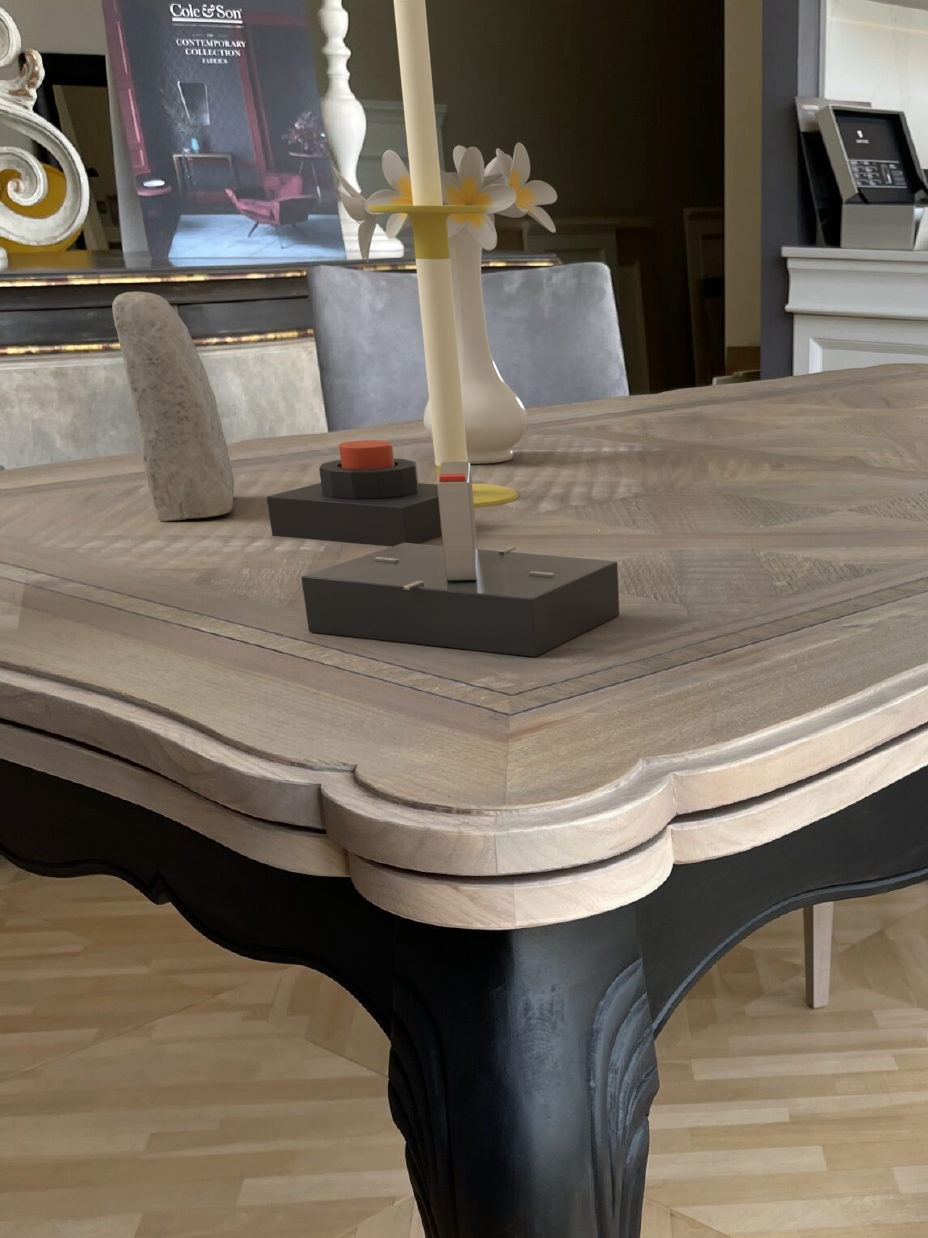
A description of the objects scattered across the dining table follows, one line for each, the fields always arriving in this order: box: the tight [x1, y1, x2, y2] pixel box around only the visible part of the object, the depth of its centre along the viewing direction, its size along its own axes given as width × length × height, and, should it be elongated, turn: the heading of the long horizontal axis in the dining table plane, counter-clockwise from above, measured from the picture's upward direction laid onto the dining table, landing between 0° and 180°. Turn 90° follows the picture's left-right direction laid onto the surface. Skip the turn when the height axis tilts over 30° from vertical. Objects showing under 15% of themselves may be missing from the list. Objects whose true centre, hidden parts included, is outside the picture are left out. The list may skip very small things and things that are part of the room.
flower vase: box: [332, 141, 558, 465], centre depth 132 cm, size 13×18×25 cm
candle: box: [368, 0, 519, 509], centre depth 111 cm, size 10×10×38 cm
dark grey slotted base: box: [300, 543, 620, 658], centre depth 84 cm, size 14×11×3 cm
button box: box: [266, 457, 442, 547], centre depth 107 cm, size 11×9×4 cm
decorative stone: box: [111, 291, 235, 522], centre depth 111 cm, size 11×6×15 cm, turn 9°
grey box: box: [436, 462, 479, 581], centre depth 82 cm, size 7×2×5 cm, turn 9°
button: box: [338, 439, 395, 469], centre depth 106 cm, size 4×4×2 cm
